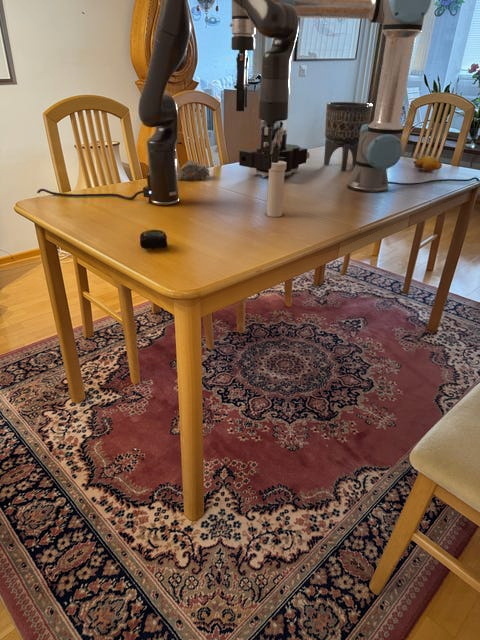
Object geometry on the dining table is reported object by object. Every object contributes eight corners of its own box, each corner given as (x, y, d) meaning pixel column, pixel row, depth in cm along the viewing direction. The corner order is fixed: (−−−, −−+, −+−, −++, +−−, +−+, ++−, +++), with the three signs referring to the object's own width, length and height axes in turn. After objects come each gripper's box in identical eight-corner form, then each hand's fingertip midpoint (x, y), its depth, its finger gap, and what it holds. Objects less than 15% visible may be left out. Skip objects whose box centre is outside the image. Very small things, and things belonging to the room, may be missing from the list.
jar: (266, 212, 147) (269, 162, 139) (281, 212, 147) (284, 162, 139) (266, 216, 143) (269, 165, 135) (282, 217, 143) (285, 165, 135)
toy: (415, 164, 201) (409, 156, 214) (418, 178, 204) (412, 170, 217) (442, 156, 198) (434, 149, 211) (444, 170, 201) (436, 162, 214)
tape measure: (140, 252, 115) (139, 238, 113) (141, 242, 120) (140, 229, 119) (167, 251, 116) (166, 237, 114) (167, 241, 121) (166, 228, 120)
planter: (313, 167, 208) (319, 103, 195) (331, 160, 222) (338, 101, 209) (353, 173, 199) (362, 107, 185) (369, 166, 213) (379, 104, 199)
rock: (201, 173, 191) (201, 157, 188) (214, 178, 186) (214, 161, 182) (175, 178, 184) (174, 161, 180) (187, 183, 178) (186, 166, 175)
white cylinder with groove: (267, 166, 140) (267, 160, 139) (285, 167, 140) (285, 160, 139) (268, 170, 135) (268, 164, 134) (286, 171, 135) (287, 164, 134)
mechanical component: (240, 120, 182) (283, 115, 202) (239, 174, 192) (280, 164, 212) (283, 126, 170) (325, 120, 190) (280, 183, 180) (320, 171, 200)
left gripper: (266, 96, 121) (264, 159, 129) (252, 100, 109) (250, 169, 117) (294, 97, 119) (289, 161, 127) (282, 101, 107) (278, 172, 115)
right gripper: (234, 37, 155) (234, 105, 166) (227, 34, 134) (227, 112, 144) (256, 37, 155) (254, 106, 165) (253, 34, 133) (250, 113, 144)
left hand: (270, 165), depth 122 cm, fingers open, 8 cm apart
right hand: (241, 109), depth 155 cm, fingers open, 13 cm apart
